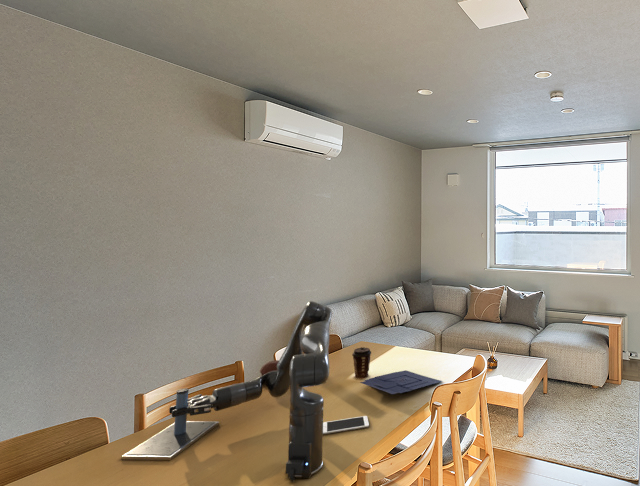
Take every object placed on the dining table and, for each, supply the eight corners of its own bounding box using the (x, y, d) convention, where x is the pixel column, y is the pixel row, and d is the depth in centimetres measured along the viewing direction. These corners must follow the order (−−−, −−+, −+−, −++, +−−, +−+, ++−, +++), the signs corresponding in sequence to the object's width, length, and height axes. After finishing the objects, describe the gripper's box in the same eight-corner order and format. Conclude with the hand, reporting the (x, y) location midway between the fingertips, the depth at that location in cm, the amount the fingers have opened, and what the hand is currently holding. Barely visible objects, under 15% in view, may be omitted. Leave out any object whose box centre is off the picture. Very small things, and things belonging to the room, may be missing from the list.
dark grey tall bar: (181, 434, 131) (183, 392, 131) (171, 434, 131) (174, 391, 131) (188, 430, 134) (190, 388, 135) (178, 430, 134) (181, 388, 135)
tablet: (170, 460, 118) (170, 456, 118) (121, 459, 118) (121, 455, 119) (218, 424, 140) (218, 421, 140) (177, 423, 140) (177, 420, 140)
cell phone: (320, 424, 141) (320, 422, 141) (367, 417, 146) (367, 415, 146) (320, 435, 133) (320, 433, 133) (369, 427, 139) (369, 425, 139)
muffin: (289, 377, 185) (289, 356, 185) (287, 386, 174) (287, 364, 175) (261, 381, 180) (261, 359, 181) (257, 390, 170) (257, 367, 170)
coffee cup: (364, 372, 193) (364, 345, 193) (374, 376, 188) (375, 348, 188) (348, 377, 186) (349, 349, 186) (359, 381, 181) (359, 353, 181)
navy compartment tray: (355, 388, 170) (356, 379, 171) (404, 375, 194) (405, 368, 195) (395, 402, 156) (396, 393, 157) (442, 387, 181) (443, 379, 181)
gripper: (223, 380, 148) (166, 394, 135) (236, 391, 139) (175, 407, 126) (223, 400, 148) (165, 416, 135) (235, 412, 138) (175, 431, 126)
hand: (171, 412), depth 130 cm, fingers closed on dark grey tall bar, 3 cm apart
